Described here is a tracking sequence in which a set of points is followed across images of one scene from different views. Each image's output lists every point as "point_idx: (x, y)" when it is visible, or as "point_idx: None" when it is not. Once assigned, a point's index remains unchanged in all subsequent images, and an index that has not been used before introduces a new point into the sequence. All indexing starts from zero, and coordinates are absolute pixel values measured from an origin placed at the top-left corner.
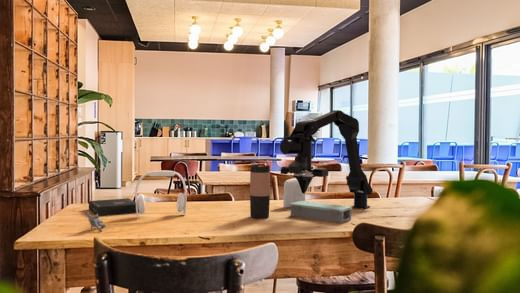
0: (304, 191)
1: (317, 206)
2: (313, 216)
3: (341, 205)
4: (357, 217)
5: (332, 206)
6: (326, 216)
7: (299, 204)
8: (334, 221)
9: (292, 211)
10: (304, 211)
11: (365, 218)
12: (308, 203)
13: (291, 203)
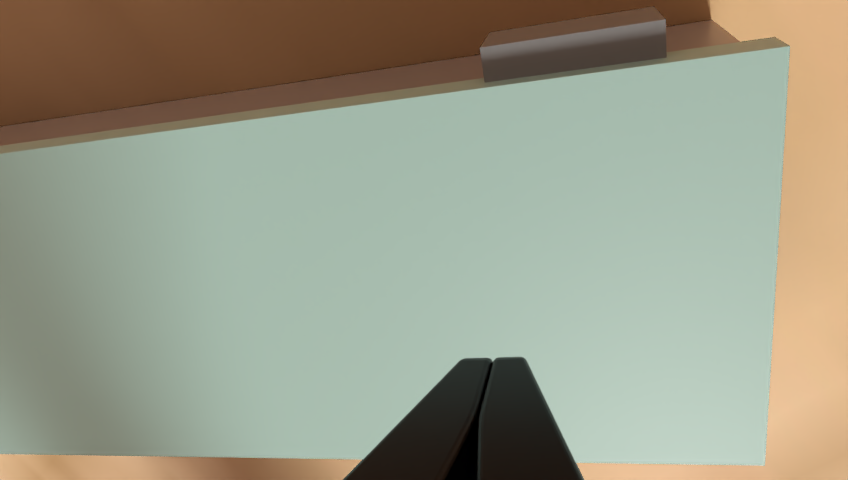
0: (434, 397)
1: (144, 174)
2: (277, 93)
3: (48, 451)
4: (105, 458)
5: (37, 326)
6: (72, 125)
7: (521, 106)
8: (14, 125)
9: (685, 38)
10: (418, 84)
11: (39, 458)
12: (466, 318)
13: (760, 81)
